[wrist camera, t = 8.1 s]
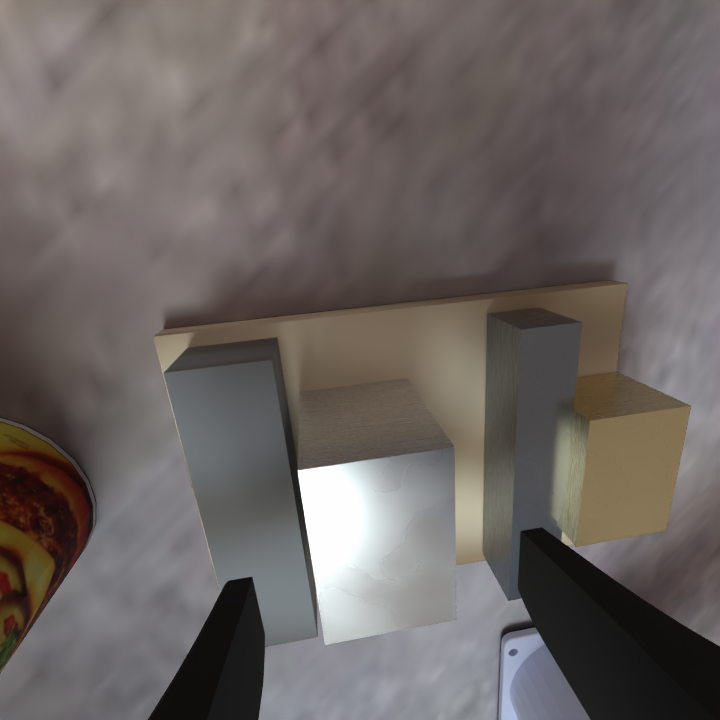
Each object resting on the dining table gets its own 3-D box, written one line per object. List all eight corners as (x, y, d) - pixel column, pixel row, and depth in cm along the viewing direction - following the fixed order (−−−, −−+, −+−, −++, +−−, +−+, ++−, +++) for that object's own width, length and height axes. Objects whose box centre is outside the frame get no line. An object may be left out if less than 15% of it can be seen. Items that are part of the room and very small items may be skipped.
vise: (580, 525, 20) (636, 585, 16) (227, 587, 18) (210, 667, 15) (608, 280, 16) (688, 293, 13) (162, 329, 14) (120, 360, 11)
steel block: (407, 378, 15) (454, 446, 10) (414, 510, 17) (456, 619, 12) (299, 392, 15) (297, 470, 10) (319, 525, 17) (325, 645, 12)
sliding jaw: (597, 533, 19) (653, 593, 16) (482, 553, 18) (518, 619, 15) (628, 297, 15) (709, 315, 12) (486, 313, 14) (535, 336, 11)
